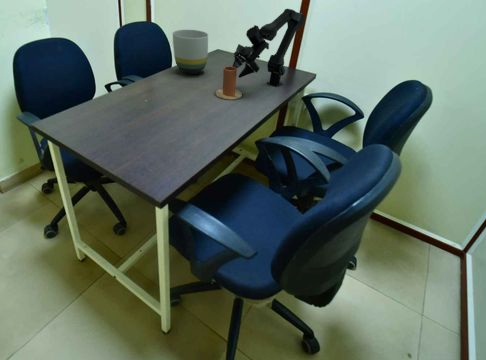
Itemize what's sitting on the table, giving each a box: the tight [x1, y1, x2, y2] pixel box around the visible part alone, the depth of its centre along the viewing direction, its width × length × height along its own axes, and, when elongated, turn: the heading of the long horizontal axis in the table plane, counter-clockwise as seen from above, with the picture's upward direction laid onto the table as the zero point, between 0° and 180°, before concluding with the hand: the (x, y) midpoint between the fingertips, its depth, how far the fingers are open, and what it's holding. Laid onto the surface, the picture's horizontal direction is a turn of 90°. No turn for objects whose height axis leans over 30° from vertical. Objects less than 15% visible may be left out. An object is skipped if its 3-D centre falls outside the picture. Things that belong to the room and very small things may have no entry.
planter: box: [172, 29, 209, 75], centre depth 172 cm, size 20×20×21 cm
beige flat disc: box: [215, 88, 243, 101], centre depth 157 cm, size 14×14×1 cm
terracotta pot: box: [222, 65, 238, 96], centre depth 153 cm, size 7×7×13 cm
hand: (234, 74), depth 152 cm, fingers open, 9 cm apart
